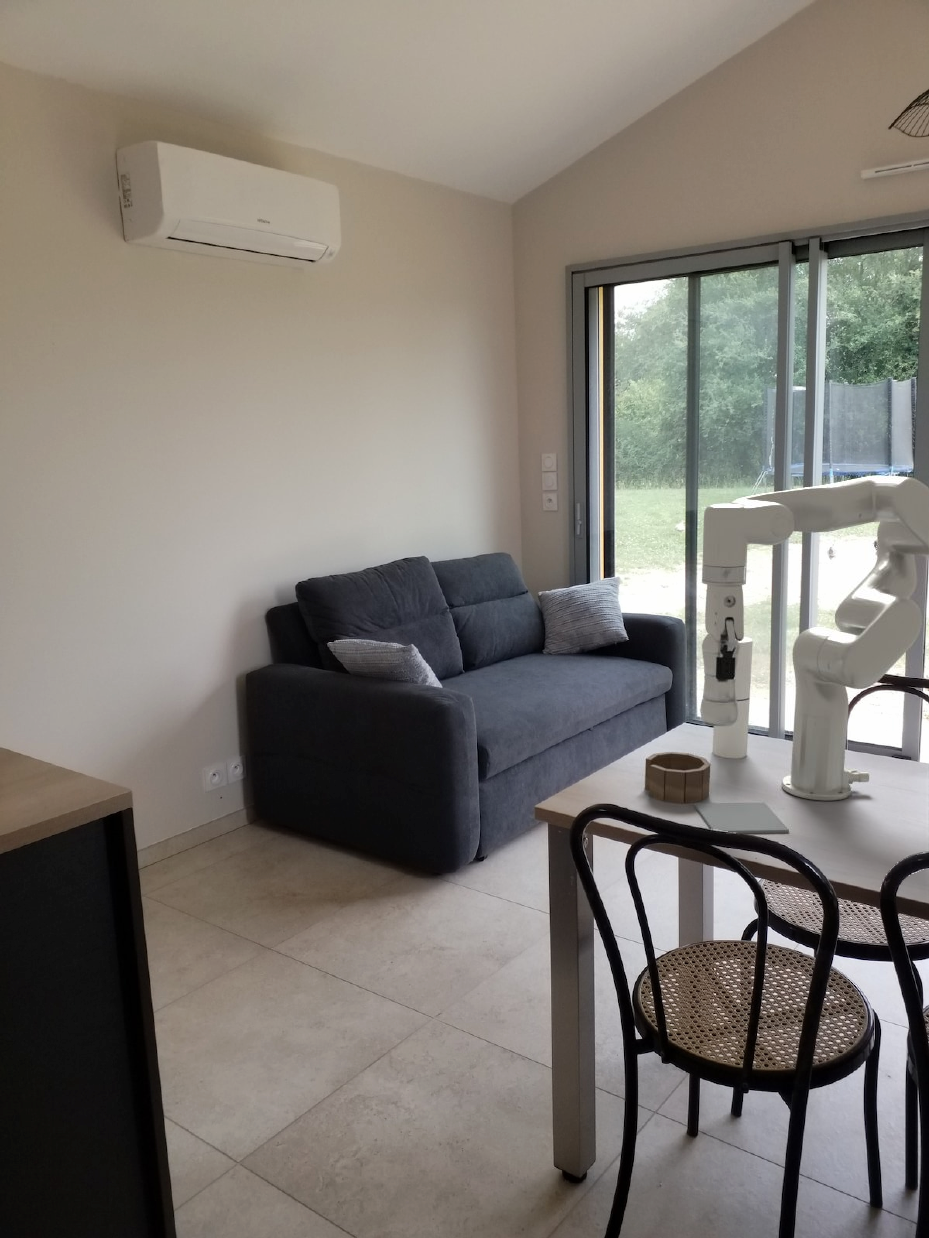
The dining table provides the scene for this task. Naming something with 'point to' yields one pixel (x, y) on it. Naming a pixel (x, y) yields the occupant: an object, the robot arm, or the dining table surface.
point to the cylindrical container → (735, 736)
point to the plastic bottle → (717, 688)
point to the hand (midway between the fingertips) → (720, 673)
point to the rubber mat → (741, 817)
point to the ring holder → (677, 777)
